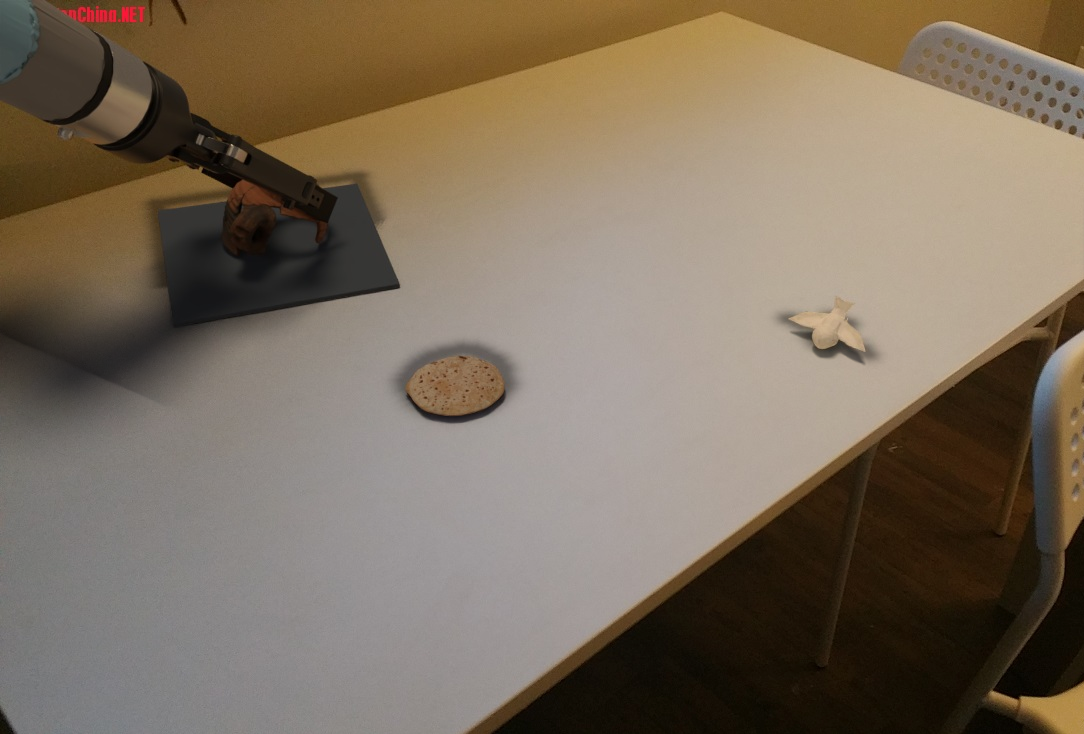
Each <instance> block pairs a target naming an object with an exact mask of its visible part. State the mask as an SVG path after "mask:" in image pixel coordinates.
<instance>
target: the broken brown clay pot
mask: <svg viewBox="0 0 1084 734" xmlns="http://www.w3.org/2000/svg"><path fill="white" fill-rule="evenodd" d="M316 185H317V186H319V187H321V185H319V184H318V183H316ZM281 199H282V197H280V196H278V195H275V194H273V193H271V192H269V191H267V190H265V189H262V188H260V187H258V186H256V185H254V184H251V183H249V182H247V181H245V180H243V179H242V180H241V181H240V182H238V183H237V184H236V185H235V187H234V188H233V189H232V188H231V191H230V193H229V195H228V197H227V200H226V201H227V202H226V205H225V211H224V216H223V231H222V235H221V236H222V241H223V243H224V245H225V246H226V248H228V249H229V250H230V251H231V252H232V253H233V254H235V255H239V254H240V249H242V250H244V251H245V252H246V253H248V254H251V255H261V254H264V253H265V249H266V246H267V241H268V238H269V237H270V235H271V233H272V230H273V229H274V227H275V225H276V213H275V211H274V210H273V209H271V208H279V209H280V214H281V215H284V216H290V217H293V218H296V219H305V220H307V221H311V222H317V233H316V237H315V241H316V243H321V242H322V241H323V239H324V236H325V234H326V229H327V227H328V223H325V222H322V221H320V220H318V219H316V218H314V217H313V216H311V215H309V214H307V213H305V212H303V211H301V210H299V209H297V208H295V207H293V210H289V209H287V208H284V207H283V204H284V201H282V200H281ZM242 205H243V206H244V208H242ZM241 209H242V210H241Z"/></svg>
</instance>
